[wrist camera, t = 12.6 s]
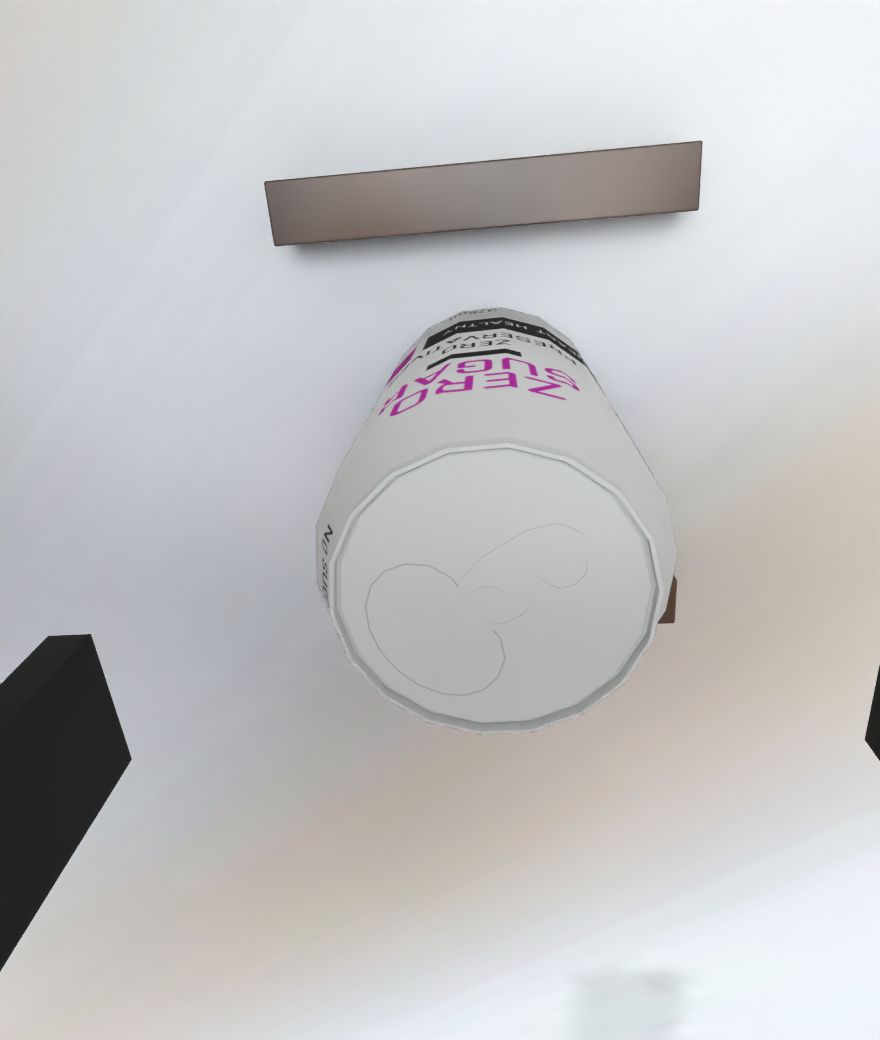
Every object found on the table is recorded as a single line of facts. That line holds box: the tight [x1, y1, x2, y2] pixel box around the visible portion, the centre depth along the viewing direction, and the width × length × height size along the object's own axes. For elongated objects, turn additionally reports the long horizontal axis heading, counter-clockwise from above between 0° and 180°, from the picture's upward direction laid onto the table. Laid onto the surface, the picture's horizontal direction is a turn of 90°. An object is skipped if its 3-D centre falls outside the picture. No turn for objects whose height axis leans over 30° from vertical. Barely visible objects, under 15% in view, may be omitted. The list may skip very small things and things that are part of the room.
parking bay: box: [264, 141, 702, 634], centre depth 28 cm, size 14×18×2 cm
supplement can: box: [316, 308, 678, 735], centre depth 22 cm, size 8×8×15 cm
